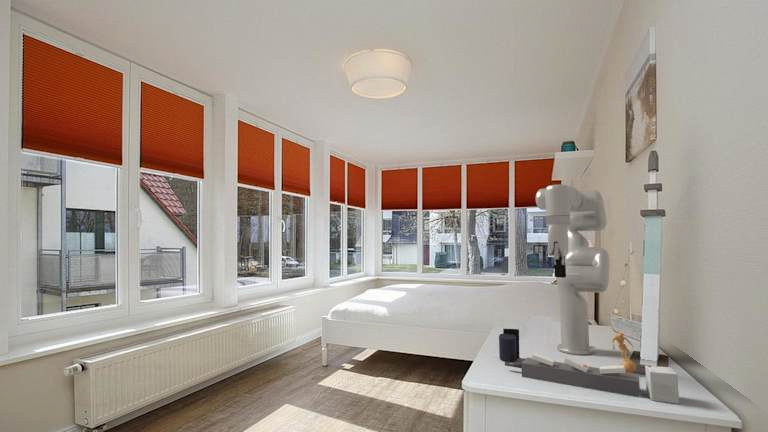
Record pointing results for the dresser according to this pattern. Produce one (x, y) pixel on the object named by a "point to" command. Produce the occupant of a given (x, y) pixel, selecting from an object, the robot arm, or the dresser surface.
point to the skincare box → (662, 384)
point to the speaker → (509, 345)
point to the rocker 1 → (543, 359)
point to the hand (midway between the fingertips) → (560, 277)
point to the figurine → (627, 363)
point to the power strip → (580, 377)
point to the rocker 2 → (576, 364)
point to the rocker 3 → (612, 369)
